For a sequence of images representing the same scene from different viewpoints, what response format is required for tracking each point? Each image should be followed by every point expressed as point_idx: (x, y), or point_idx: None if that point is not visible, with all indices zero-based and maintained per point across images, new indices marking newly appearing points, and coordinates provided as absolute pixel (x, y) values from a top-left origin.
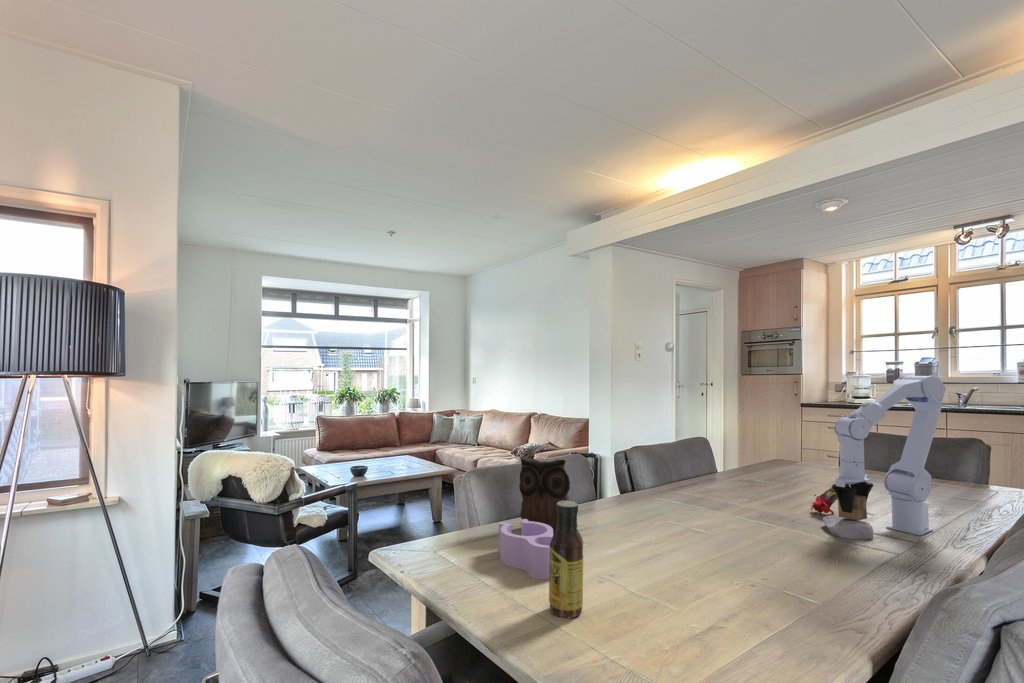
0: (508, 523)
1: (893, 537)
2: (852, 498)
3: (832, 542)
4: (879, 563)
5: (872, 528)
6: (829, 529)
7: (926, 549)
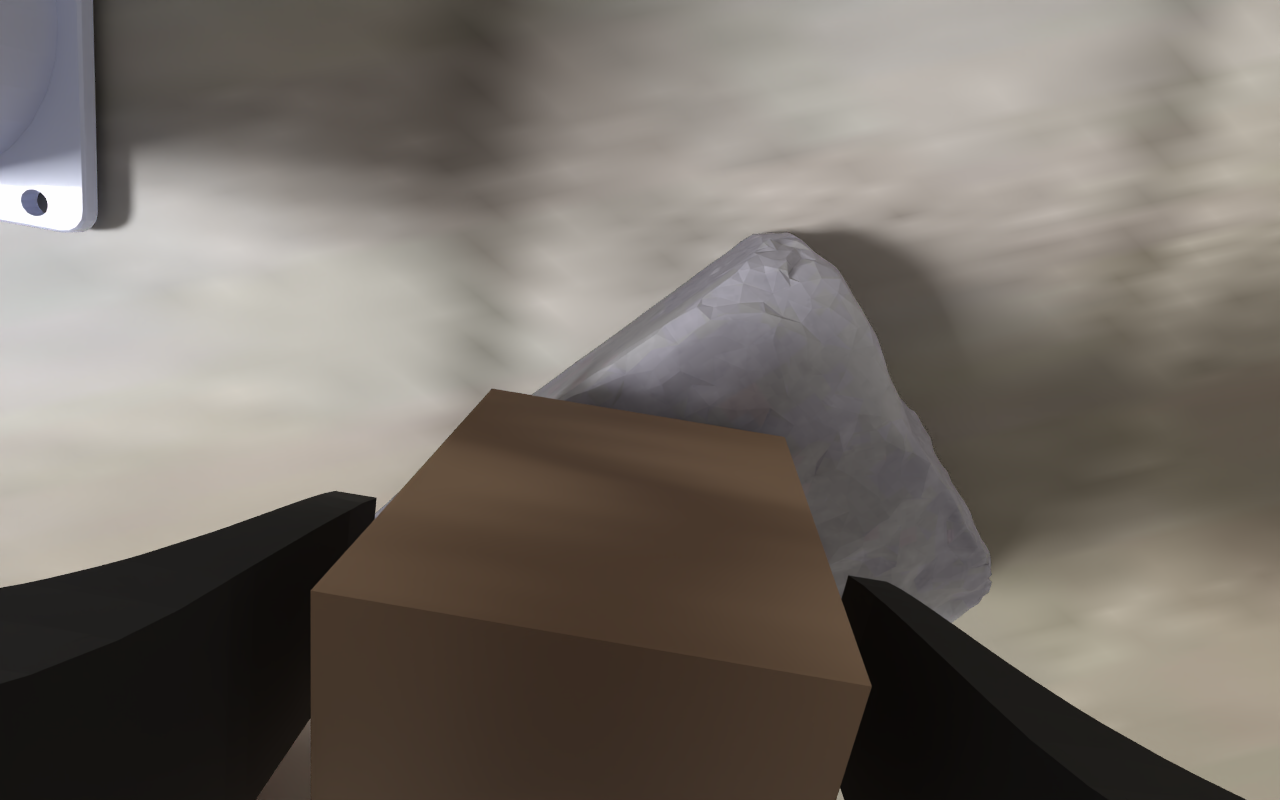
0: None
1: (470, 67)
2: (1102, 747)
3: (1213, 512)
4: None
5: (763, 251)
6: None
7: None
